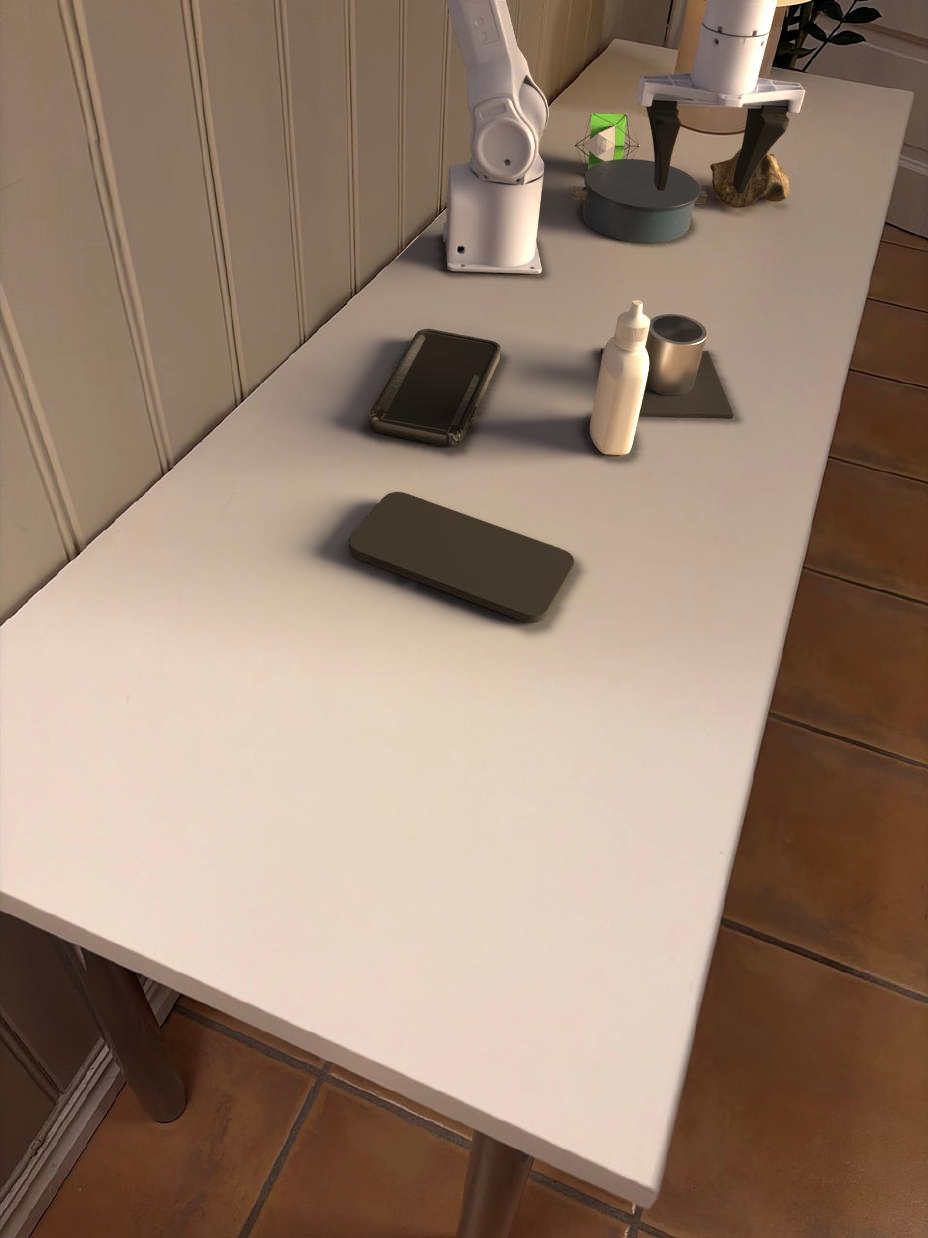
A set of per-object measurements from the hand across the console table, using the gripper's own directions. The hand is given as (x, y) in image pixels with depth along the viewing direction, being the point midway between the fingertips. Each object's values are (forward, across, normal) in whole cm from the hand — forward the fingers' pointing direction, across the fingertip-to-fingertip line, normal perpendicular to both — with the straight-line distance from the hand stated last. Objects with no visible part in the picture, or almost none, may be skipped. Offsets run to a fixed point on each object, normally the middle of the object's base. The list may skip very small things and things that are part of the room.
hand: (698, 187), depth 93 cm
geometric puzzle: (+10, -4, +26) cm, 28 cm away
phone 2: (+9, -24, -42) cm, 49 cm away
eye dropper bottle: (+10, -11, -27) cm, 31 cm away
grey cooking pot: (+9, -2, +14) cm, 17 cm away
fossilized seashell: (+10, +12, +20) cm, 25 cm away
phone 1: (+9, -25, -21) cm, 34 cm away
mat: (+9, -5, -19) cm, 22 cm away
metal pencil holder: (+9, -5, -19) cm, 22 cm away
